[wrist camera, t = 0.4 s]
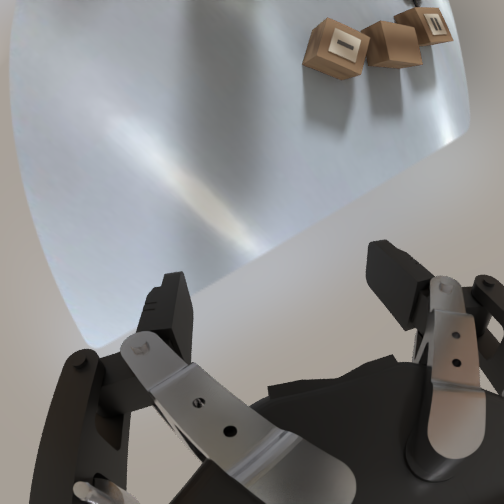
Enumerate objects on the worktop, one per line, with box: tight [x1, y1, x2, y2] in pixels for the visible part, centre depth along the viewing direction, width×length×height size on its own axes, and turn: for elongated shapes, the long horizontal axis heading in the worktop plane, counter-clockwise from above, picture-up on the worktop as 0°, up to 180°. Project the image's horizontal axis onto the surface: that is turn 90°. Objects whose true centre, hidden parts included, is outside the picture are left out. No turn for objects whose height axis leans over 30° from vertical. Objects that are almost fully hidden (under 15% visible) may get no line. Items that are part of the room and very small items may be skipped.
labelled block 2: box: [393, 7, 453, 47], centre depth 26 cm, size 6×6×6 cm
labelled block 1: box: [302, 17, 370, 80], centre depth 28 cm, size 6×6×6 cm
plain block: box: [361, 21, 423, 69], centre depth 28 cm, size 6×6×6 cm
